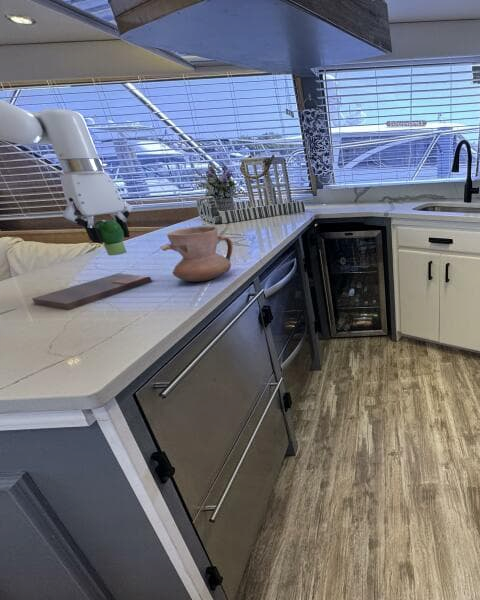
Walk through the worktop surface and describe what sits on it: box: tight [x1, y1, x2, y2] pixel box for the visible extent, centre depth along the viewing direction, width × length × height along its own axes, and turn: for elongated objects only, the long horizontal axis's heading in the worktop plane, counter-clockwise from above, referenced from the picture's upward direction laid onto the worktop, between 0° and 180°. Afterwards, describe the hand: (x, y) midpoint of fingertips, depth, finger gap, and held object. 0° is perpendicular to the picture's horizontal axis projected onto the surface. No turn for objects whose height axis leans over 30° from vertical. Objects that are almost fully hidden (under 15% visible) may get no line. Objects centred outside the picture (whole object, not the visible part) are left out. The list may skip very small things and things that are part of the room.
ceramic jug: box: [160, 225, 234, 283], centre depth 93 cm, size 18×14×14 cm
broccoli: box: [94, 219, 127, 256], centre depth 86 cm, size 6×7×9 cm
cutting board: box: [31, 272, 153, 310], centre depth 87 cm, size 20×14×2 cm
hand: (111, 239), depth 86 cm, fingers closed on broccoli, 5 cm apart
